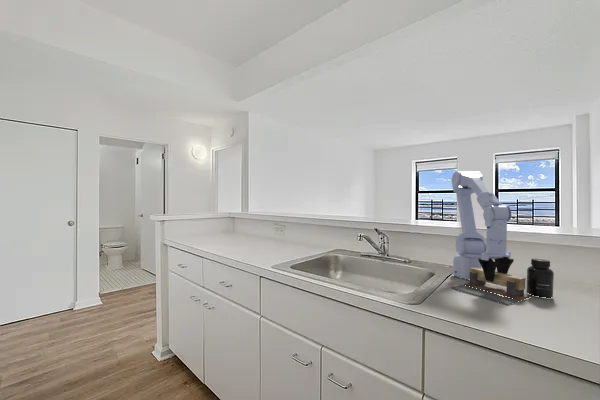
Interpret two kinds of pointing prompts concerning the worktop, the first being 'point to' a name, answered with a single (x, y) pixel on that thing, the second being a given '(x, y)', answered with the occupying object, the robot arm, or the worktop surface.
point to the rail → (500, 278)
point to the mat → (485, 294)
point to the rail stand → (497, 288)
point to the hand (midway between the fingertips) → (495, 279)
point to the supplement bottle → (540, 278)
